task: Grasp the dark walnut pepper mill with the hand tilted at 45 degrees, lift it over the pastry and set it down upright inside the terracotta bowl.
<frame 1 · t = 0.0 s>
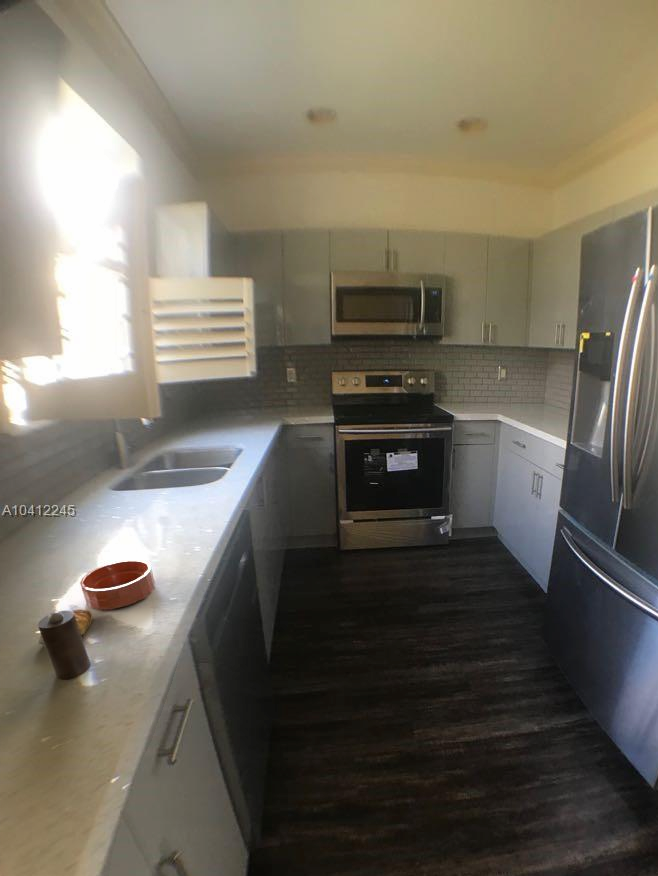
pastry: (68, 635, 85), on the worktop
bowl: (122, 594, 98), on the worktop
pepper mill: (73, 669, 76), on the worktop
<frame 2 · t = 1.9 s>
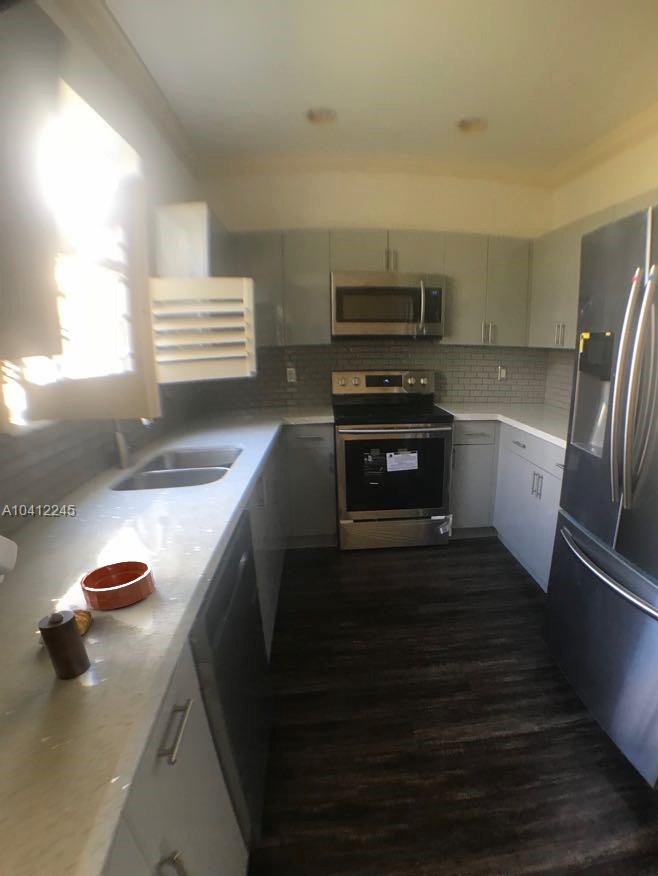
nothing on the worktop moved.
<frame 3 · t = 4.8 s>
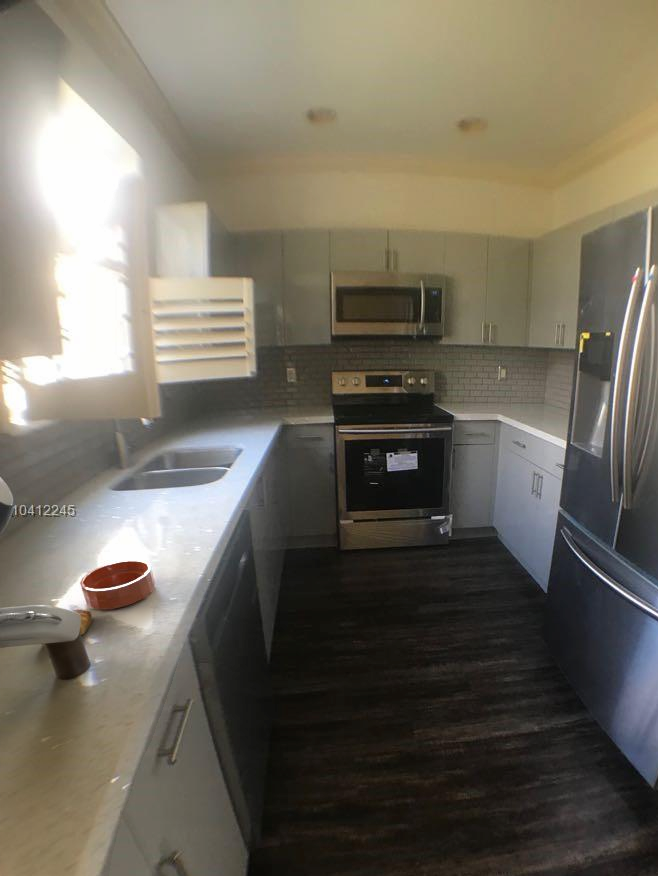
hand: (26, 639, 65), 11 cm above the worktop, tool tilted 45°, fingers open, 8 cm apart
nothing on the worktop moved.
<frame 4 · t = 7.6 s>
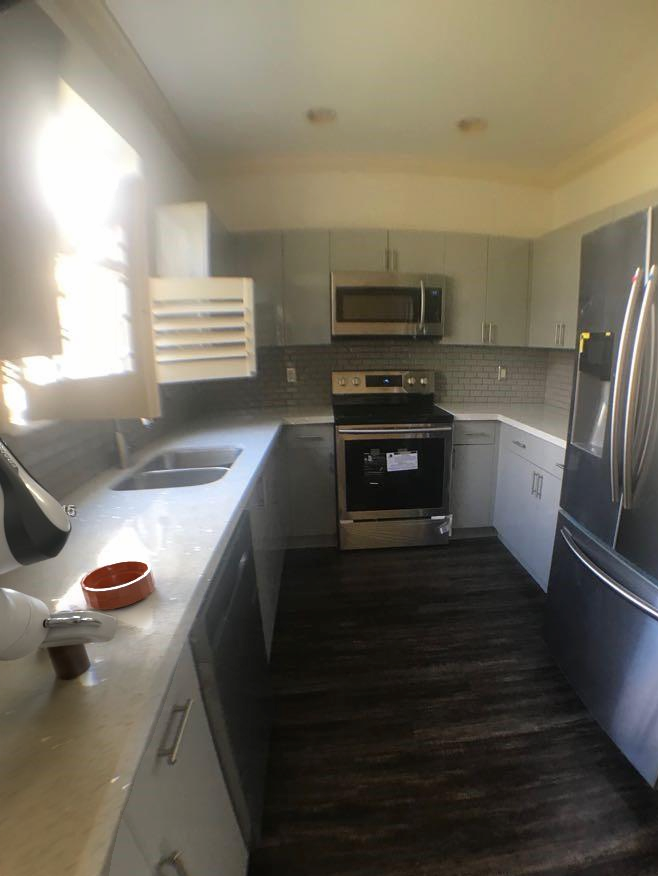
hand: (66, 640, 75), 5 cm above the worktop, tool tilted 45°, fingers closed on pepper mill, 5 cm apart
pepper mill: (73, 669, 76), on the worktop, touching gripper
everything else where it was.
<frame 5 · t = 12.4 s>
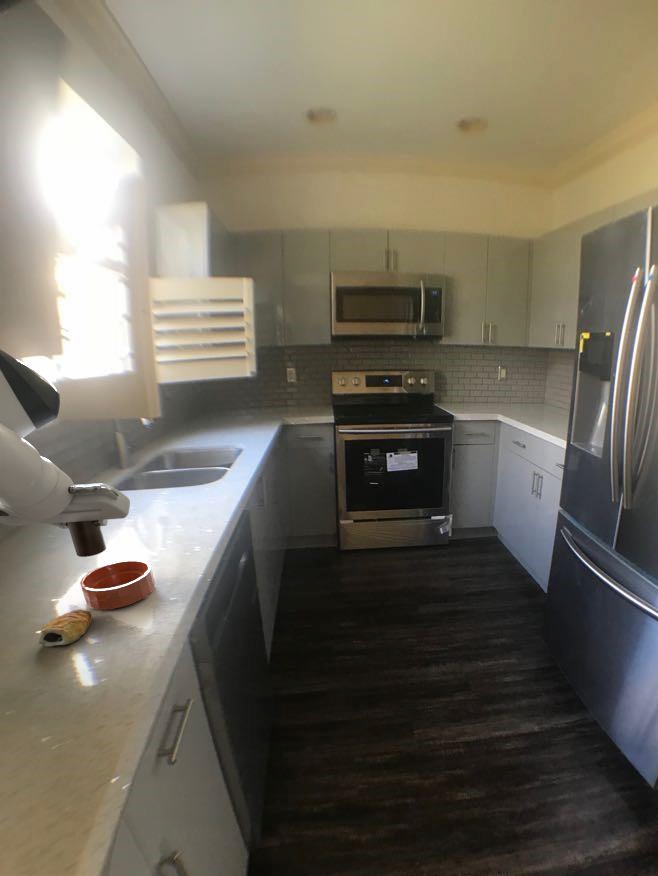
hand: (85, 523, 85), 19 cm above the worktop, tool tilted 45°, fingers closed on pepper mill, 5 cm apart
pepper mill: (91, 551, 86), point 14 cm above the worktop, touching gripper
everything else where it was.
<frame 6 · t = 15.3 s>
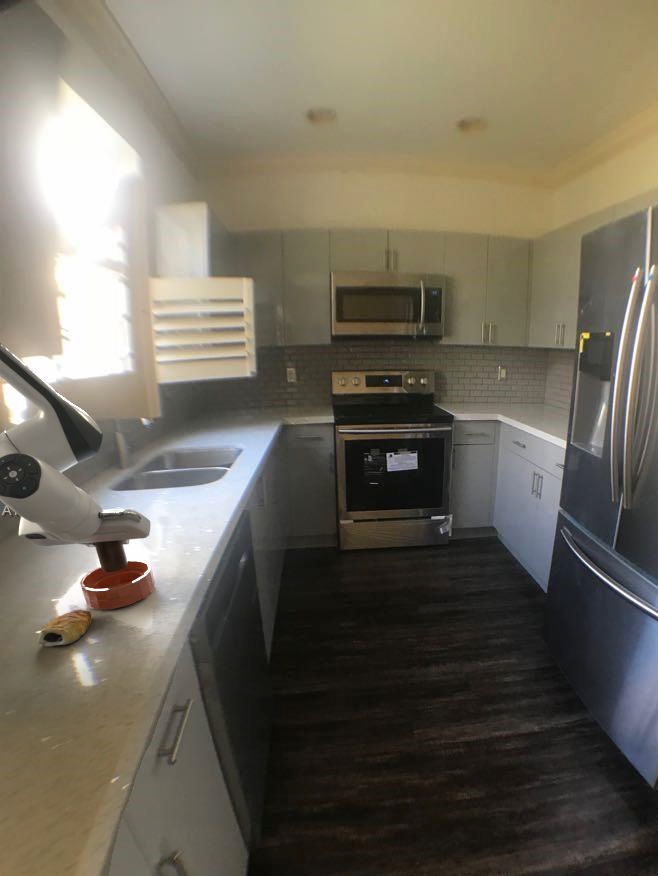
hand: (109, 542, 94), 12 cm above the worktop, tool tilted 45°, fingers closed on pepper mill, 5 cm apart
pepper mill: (115, 566, 96), point 7 cm above the worktop, touching gripper
everything else where it was.
when the fingers open (6 cm above the worktop, at t = 17.5 s): pepper mill stays where it is, resting on bowl.
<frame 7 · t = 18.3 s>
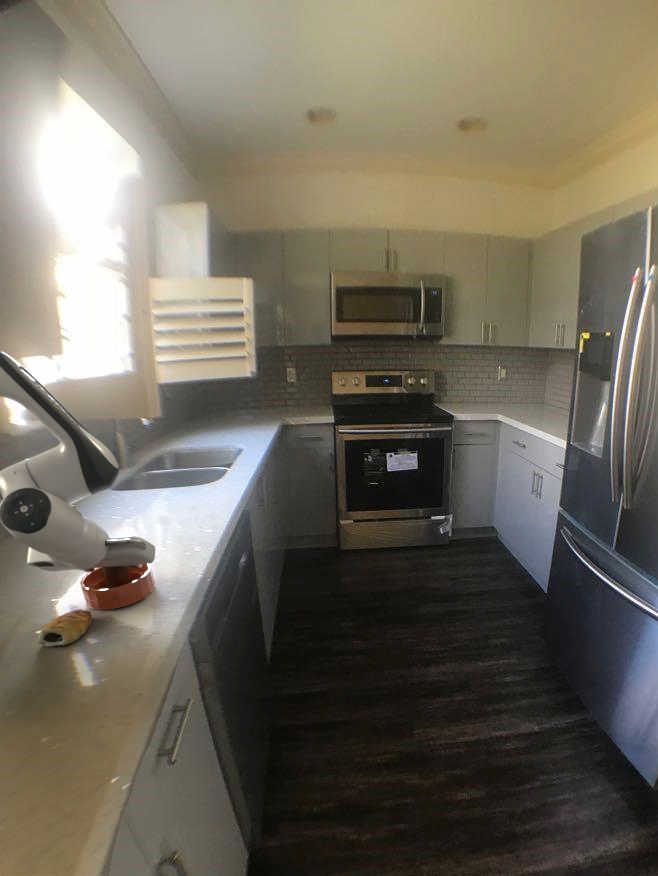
hand: (115, 566, 96), 7 cm above the worktop, tool tilted 45°, fingers open, 8 cm apart
pepper mill: (122, 592, 98), point 1 cm above the worktop, touching bowl
everything else where it was.
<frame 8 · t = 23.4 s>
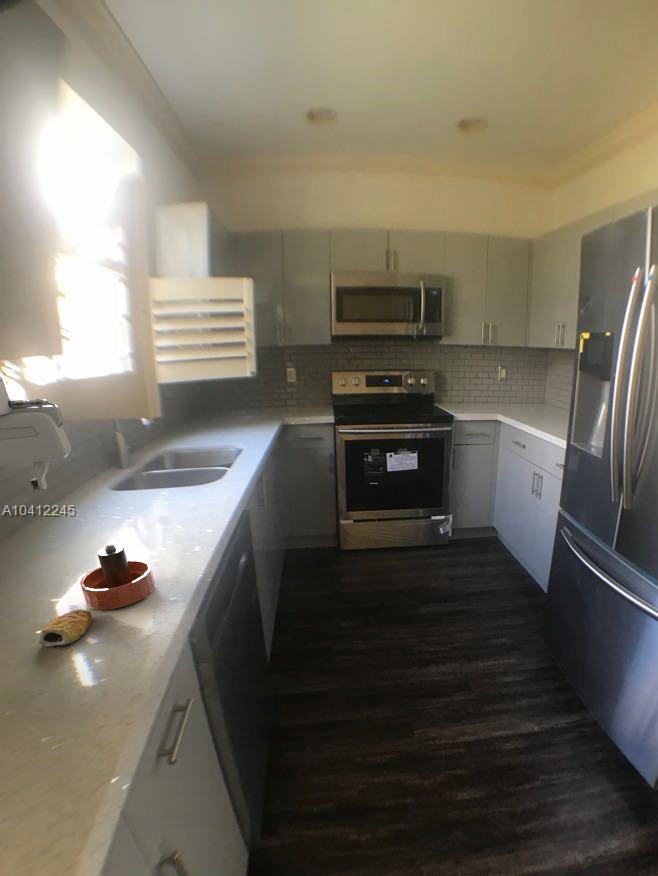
hand: (5, 493, 71), 29 cm above the worktop, tool pointing down, fingers open, 8 cm apart
nothing on the worktop moved.
at the end: pepper mill inside the target area in the bowl (0.1 cm from its centre), point 0.6 cm above the bowl's base; pepper mill tilted 0°; the gripper is holding nothing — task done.
